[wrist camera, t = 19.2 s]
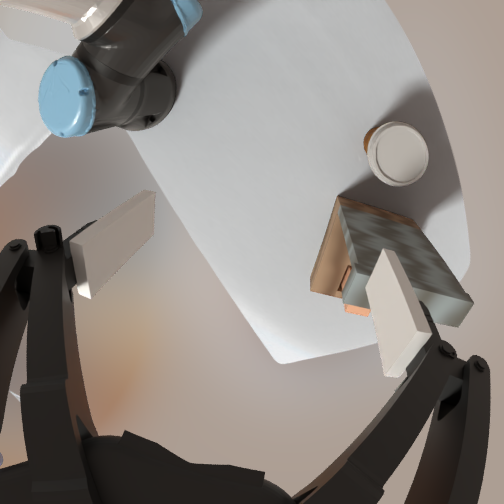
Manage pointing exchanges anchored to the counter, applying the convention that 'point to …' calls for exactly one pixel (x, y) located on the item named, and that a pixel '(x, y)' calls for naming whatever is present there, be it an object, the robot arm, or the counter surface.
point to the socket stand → (367, 254)
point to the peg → (352, 308)
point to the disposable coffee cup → (396, 153)
